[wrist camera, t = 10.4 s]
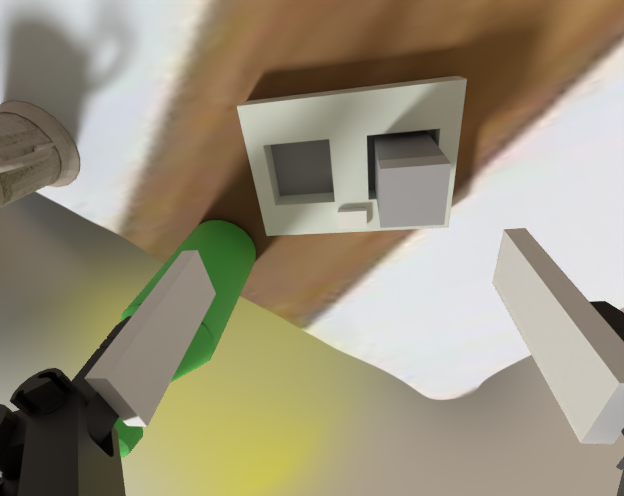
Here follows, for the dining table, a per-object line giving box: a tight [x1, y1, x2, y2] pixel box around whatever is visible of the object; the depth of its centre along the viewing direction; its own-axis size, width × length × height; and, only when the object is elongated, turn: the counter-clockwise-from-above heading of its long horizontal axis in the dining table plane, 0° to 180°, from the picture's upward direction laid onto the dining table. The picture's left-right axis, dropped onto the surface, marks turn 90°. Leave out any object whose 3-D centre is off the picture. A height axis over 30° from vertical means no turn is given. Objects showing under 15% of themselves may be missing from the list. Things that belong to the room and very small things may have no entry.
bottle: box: [114, 220, 256, 457], centre depth 32 cm, size 9×9×25 cm
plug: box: [374, 130, 451, 228], centre depth 29 cm, size 5×5×10 cm
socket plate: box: [237, 76, 467, 236], centre depth 32 cm, size 14×20×4 cm
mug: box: [0, 101, 80, 208], centre depth 32 cm, size 14×10×12 cm
